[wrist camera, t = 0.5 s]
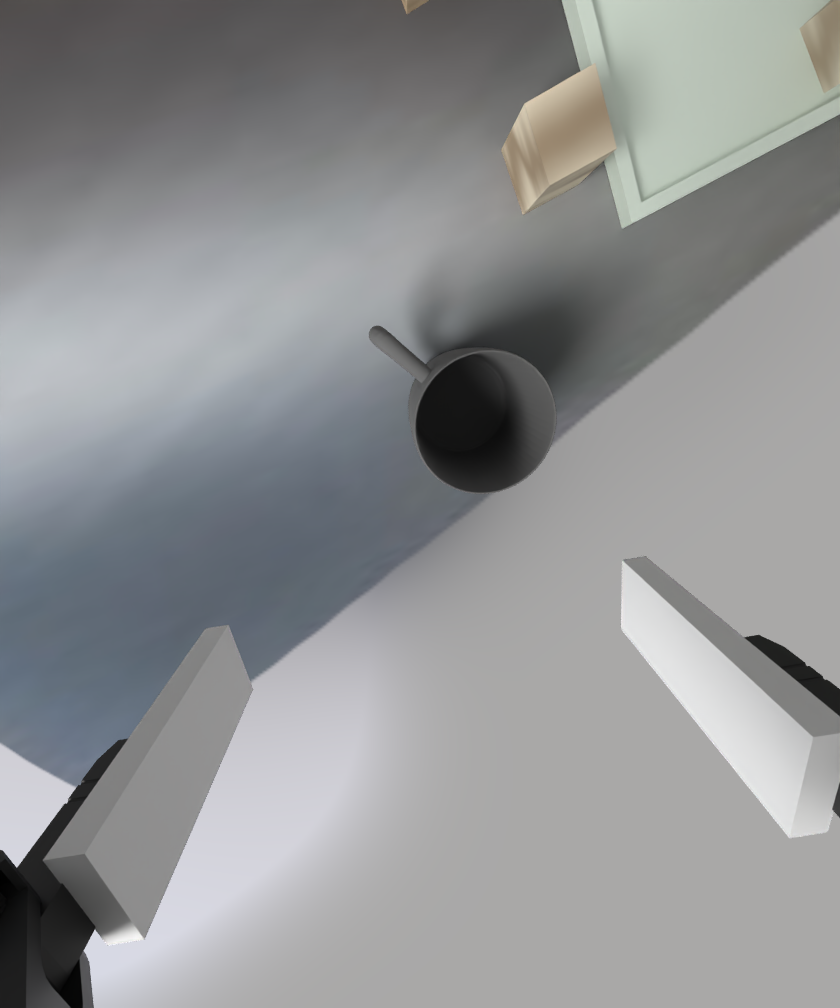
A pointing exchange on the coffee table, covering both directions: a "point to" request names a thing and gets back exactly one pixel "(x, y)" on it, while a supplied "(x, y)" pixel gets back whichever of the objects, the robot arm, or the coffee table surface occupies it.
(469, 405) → the mug
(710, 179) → the tray
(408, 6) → the oak block
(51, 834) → the robot arm
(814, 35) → the maple block
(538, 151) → the beech block
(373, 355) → the coffee table surface
